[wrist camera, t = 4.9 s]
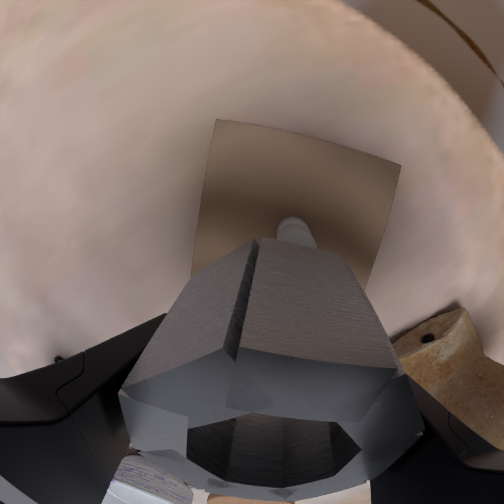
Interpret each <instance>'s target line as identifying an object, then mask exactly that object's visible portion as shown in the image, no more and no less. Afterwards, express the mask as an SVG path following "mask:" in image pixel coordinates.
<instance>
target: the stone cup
mask: <svg viewBox="0 0 504 504" xmlns="http://www.w3.org/2000/svg"><path fill="white" fill-rule="evenodd" d="M392 346H393V348H394V350H395V352H396V354H397V356H398V358H399V360H400V362H401V365H402V367H403V369H404V371H405V373H406V374H407V375H409V376H410V377H411V378H412V379H413V380H414V381H416V382H417V383H418V384H419V385H420V386H421V387H422V388H424V389H425V390H426V391H427V392H428V393H429V394H431V395H432V396H433V397H434V398H435V399H436V400H437V401H439V402H440V403H441V404H442V405H443V406H444V407H445V408H447V409H448V411H450V412H451V413H452V414H453V415H455V416H456V417H457V418H458V419H459V420H461V421H462V422H463V423H464V424H465V425H467V426H468V427H469V428H471V429H472V430H473V431H474V432H476V433H477V434H478V435H480V436H481V437H483V438H484V439H485V440H487V441H488V442H489V443H491V444H492V445H493V446H495V447H496V448H498V449H501V450H504V365H502V364H500V363H498V362H495V361H494V360H492V359H490V358H489V357H487V356H485V355H484V354H483V350H482V345H481V342H480V339H479V337H478V334H477V332H476V330H475V327H474V325H473V323H472V321H471V319H470V316H469V313H468V311H467V310H466V309H465V308H458V309H456V310H454V311H451V312H448V313H444V314H441V315H439V316H437V317H435V318H432V319H430V320H428V321H426V322H424V323H422V324H420V325H419V326H417V327H416V328H415V329H413V330H411V331H409V332H408V333H406V334H405V335H403V336H402V337H400V338H399V339H398V340H397V341H396V342H395V343H393V344H392Z"/></svg>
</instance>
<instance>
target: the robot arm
mask: <svg viewBox="0 0 504 504" xmlns="http://www.w3.org/2000/svg"><path fill="white" fill-rule="evenodd" d="M166 315H167V313H164V314H162V315H160V316H158V317H156V318H153V319H151V320H149V321H147V322H145V323H143V324H141V325H139V326H137V327H134V328H132V329H130V330H128V331H126V332H124V333H122V334H120V335H117V336H115V337H113V338H111V339H109V340H107V341H104V342H102V343H100V344H98V345H96V346H94V347H91V348H89V349H87V350H85V351H84V352H80V353H78V354H76V355H74V356H71V357H69V358H67V359H64V360H63V359H61V358H59V357H55V358H54V361H55V363H54V364H51V365H48V366H45V367H42V368H39V369H36V370H33V371H30V372H26V373H23V374H20V375H17V376H13V377H9V378H0V504H101V503H102V501H103V499H104V496H105V494H106V492H107V490H108V488H109V486H110V484H111V483H110V482H112V479H113V477H114V475H115V473H116V471H117V469H118V467H119V465H120V463H121V461H122V459H123V457H124V455H125V453H126V451H127V449H128V447H129V445H130V443H131V442H130V438H129V435H128V431H127V428H126V424H125V420H124V417H123V413H122V409H121V405H120V400H119V396H118V393H119V391H120V389H121V387H122V385H123V384H124V382H125V380H126V379H127V377H128V375H129V374H130V372H131V370H132V369H133V367H134V365H135V364H136V362H137V361H138V359H139V357H140V356H141V354H142V353H143V351H144V349H145V348H146V346H147V345H148V343H149V341H150V340H151V338H152V337H153V335H154V333H155V332H156V330H157V329H158V327H159V326H160V324H161V323H162V321H163V319H164V318H165V316H166ZM406 376H407V378H408V381H409V383H410V386H411V389H412V391H413V394H414V397H415V400H416V403H417V405H418V408H419V411H420V414H421V417H422V420H423V423H424V426H425V429H426V430H424V431H422V433H423V435H422V436H421V437H420V438H419V439H418V440H417V441H416V442H415V443H414V444H413V445H412V446H411V447H410V448H409V449H408V450H407V451H406V452H405V453H404V454H403V455H402V456H401V457H399V458H398V459H397V460H396V461H395V462H394V463H393V464H391V465H390V466H389V467H388V468H387V469H386V470H384V471H383V472H382V473H381V474H379V475H378V476H377V477H376V478H374V479H373V480H370V488H371V504H504V450H501V449H498V448H496V447H495V446H493V445H492V444H491V443H489V442H488V441H487V440H485V439H484V438H483V437H481V436H480V435H478V434H477V433H476V432H474V431H473V430H472V429H471V428H469V427H468V426H467V425H465V424H464V423H463V422H462V421H461V420H459V419H458V418H457V417H456V416H455V415H453V414H452V413H451V412H450V411H448V409H447V408H445V407H444V406H443V405H442V404H441V403H440V402H439V401H437V400H436V399H435V398H434V397H433V396H432V395H431V394H429V393H428V392H427V391H426V390H425V389H424V388H422V387H421V386H420V385H419V384H418V383H417V382H416V381H414V380H413V379H412V378H411V377H410V376H409V375H407V374H406Z"/></svg>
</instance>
